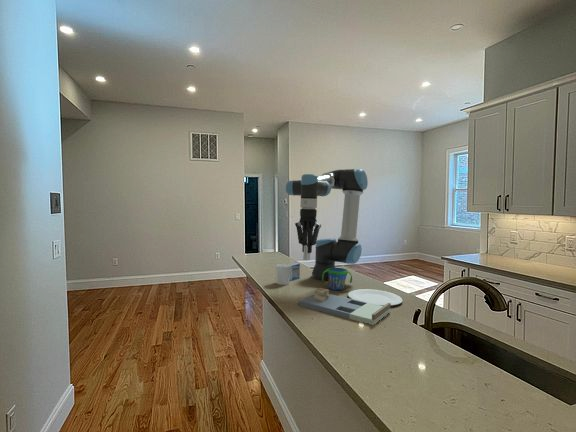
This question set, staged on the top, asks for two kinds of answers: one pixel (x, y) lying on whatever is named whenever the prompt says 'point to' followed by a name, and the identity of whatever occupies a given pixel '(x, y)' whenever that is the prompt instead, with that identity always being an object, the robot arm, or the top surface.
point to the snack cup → (336, 278)
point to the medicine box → (294, 271)
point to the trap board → (348, 308)
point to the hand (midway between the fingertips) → (306, 259)
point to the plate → (375, 297)
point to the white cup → (283, 274)
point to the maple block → (321, 294)
